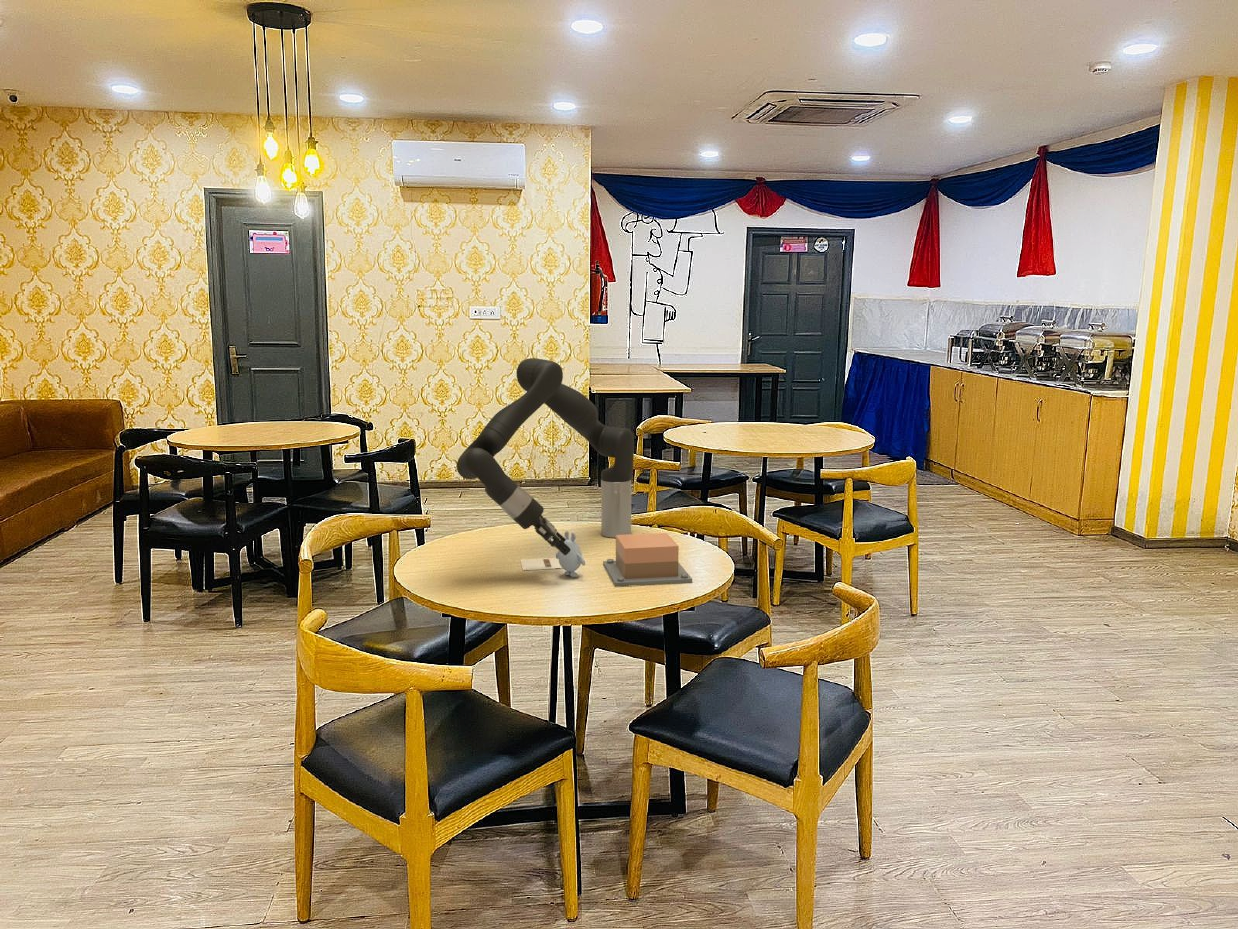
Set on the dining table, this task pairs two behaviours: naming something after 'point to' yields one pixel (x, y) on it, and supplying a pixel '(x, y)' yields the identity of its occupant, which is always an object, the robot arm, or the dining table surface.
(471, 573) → the dining table surface
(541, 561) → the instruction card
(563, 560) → the toy figure
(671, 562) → the orange square pedestal
